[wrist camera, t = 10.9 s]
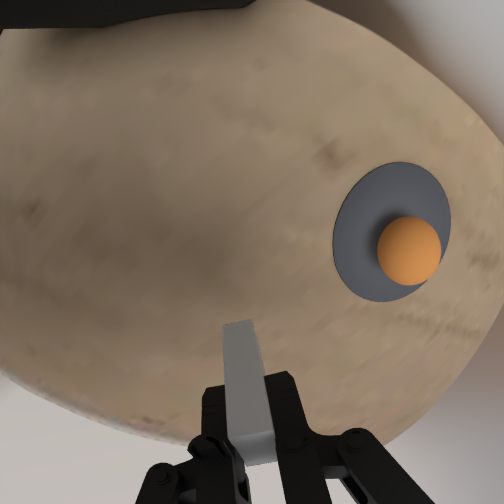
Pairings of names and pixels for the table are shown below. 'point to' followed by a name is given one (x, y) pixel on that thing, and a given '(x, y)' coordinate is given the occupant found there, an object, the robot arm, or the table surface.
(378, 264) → the disc
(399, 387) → the table surface
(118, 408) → the table surface
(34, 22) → the flower pot
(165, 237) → the table surface
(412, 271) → the ball
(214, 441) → the robot arm
